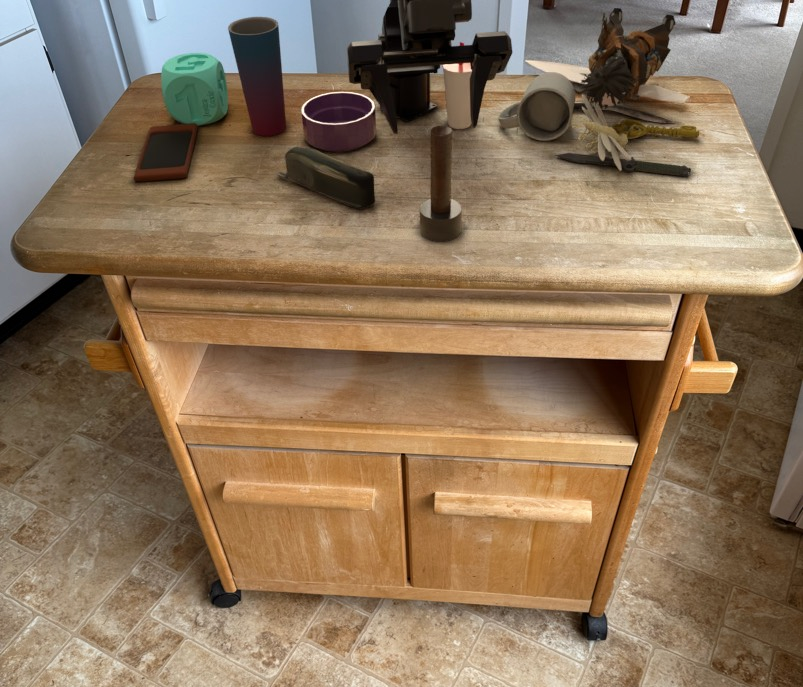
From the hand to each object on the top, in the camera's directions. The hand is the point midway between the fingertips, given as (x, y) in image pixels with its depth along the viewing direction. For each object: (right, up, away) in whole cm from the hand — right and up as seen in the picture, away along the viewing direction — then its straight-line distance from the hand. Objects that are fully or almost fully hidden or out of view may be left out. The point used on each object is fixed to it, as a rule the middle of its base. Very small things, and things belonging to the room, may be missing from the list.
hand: (435, 129), depth 88 cm
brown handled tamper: (+1, -11, +4) cm, 12 cm away
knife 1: (+28, +16, +32) cm, 45 cm away
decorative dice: (-35, +10, +29) cm, 47 cm away
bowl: (-13, +5, +23) cm, 27 cm away
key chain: (+29, +15, +29) cm, 44 cm away
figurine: (+34, +24, +34) cm, 54 cm away
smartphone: (-38, +8, +25) cm, 46 cm away
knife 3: (+26, +1, +15) cm, 30 cm away
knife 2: (+26, +8, +23) cm, 36 cm away
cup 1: (-24, +7, +25) cm, 35 cm away
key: (+32, +5, +20) cm, 38 cm away
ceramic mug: (+16, +6, +23) cm, 28 cm away
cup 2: (+5, +8, +25) cm, 26 cm away
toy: (+23, +2, +17) cm, 28 cm away
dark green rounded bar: (-14, -5, +11) cm, 19 cm away
